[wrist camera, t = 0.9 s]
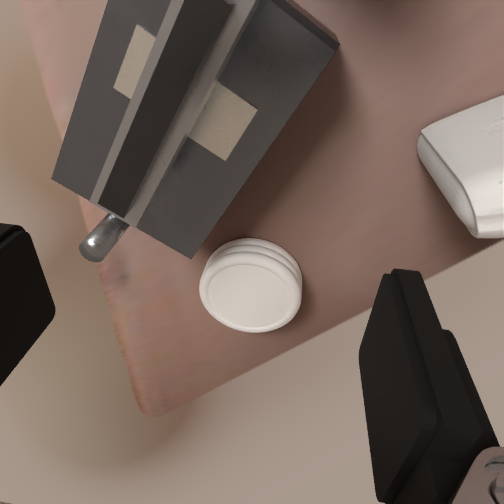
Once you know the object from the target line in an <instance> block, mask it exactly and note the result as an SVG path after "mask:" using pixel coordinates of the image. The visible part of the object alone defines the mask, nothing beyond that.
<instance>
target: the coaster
mask: <svg viewBox="0 0 504 504" xmlns="http://www.w3.org/2000/svg"><path fill="white" fill-rule="evenodd" d="M199 292H200V297H201V300H202V303H203V305H204V306H205V308H206V309H207V311H208V312H209V313H210V314H211V315H212V316H213V317H214V318H215V319H217V320H218V321H219V322H221V323H223V324H224V325H226V326H228V327H230V328H233V329H236V330H239V331H244V332H252V333H260V332H268V331H272V330H275V329H278V328H280V327H282V326H284V325H285V324H287V323H288V322H289V321H291V320H292V319H293V317H294V316H295V315H296V313H297V312H298V310H299V307H300V305H301V300H302V274H301V271H300V268H299V266H298V264H297V262H296V261H295V260H294V258H293V257H292V256H291V255H290V254H289V253H288V252H287V251H286V250H284V249H283V248H281V247H280V246H278V245H276V244H274V243H272V242H269V241H266V240H263V239H257V238H241V239H236V240H233V241H230V242H227V243H225V244H223V245H222V246H220V247H219V248H218V249H217V250H216V251H214V252H213V254H212V255H211V256H210V258H209V259H208V261H207V264H206V267H205V269H204V272H203V274H202V276H201V279H200V284H199Z"/></svg>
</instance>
